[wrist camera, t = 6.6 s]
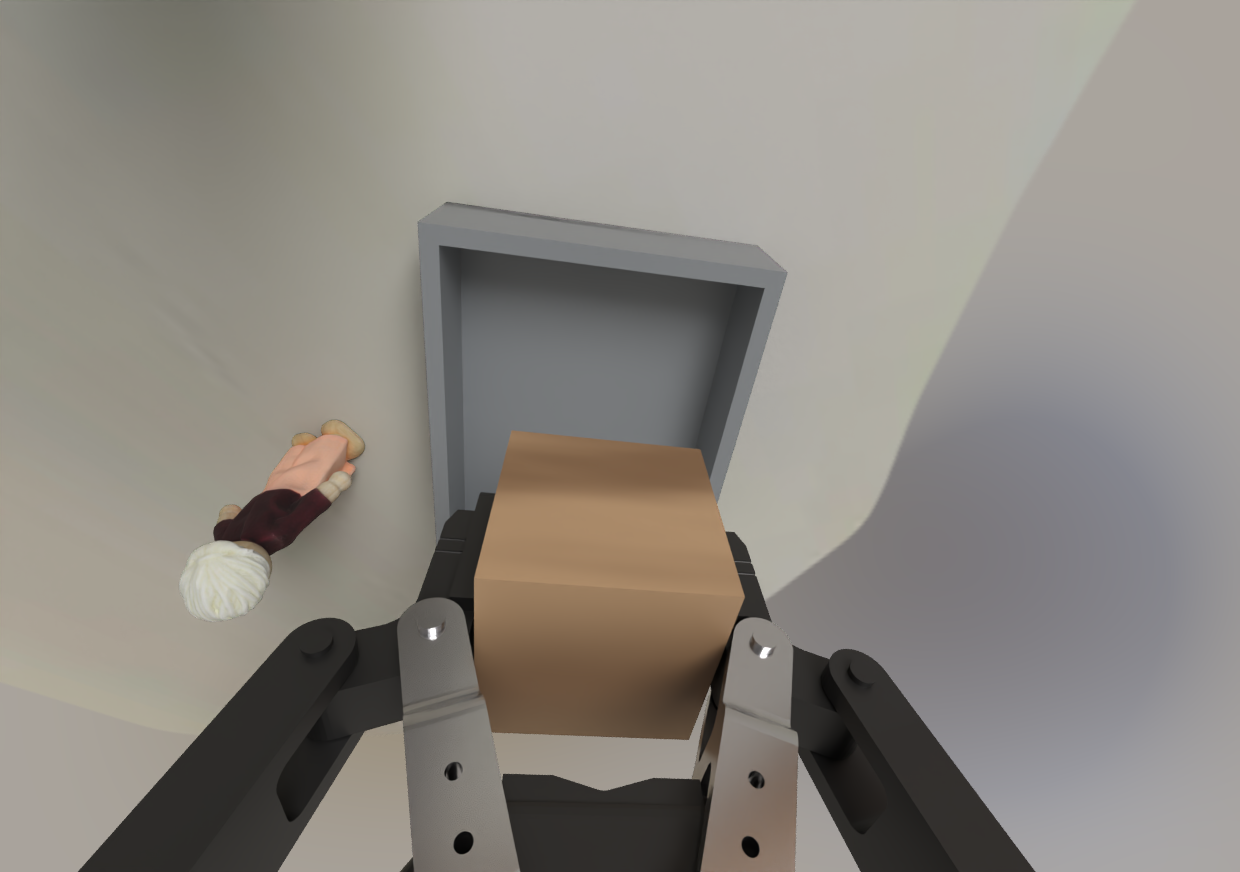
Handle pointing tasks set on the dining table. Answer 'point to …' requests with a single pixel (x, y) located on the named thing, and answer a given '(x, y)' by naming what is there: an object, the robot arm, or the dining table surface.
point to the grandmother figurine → (268, 524)
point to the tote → (583, 339)
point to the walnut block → (601, 589)
